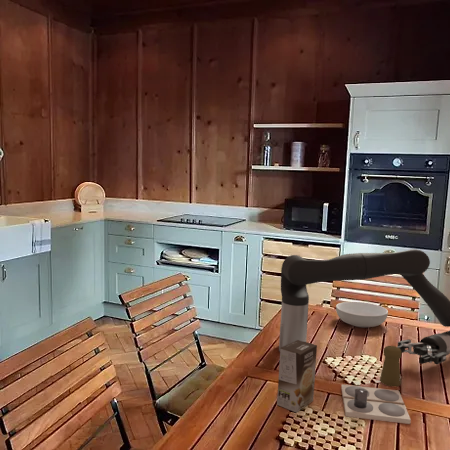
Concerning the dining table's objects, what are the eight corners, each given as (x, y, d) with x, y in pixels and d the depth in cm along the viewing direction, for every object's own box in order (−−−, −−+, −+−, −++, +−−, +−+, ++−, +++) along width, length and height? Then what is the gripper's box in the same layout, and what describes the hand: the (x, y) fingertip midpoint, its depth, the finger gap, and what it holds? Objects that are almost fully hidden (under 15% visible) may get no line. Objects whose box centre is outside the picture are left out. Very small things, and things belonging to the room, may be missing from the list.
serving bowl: (392, 322, 200) (393, 306, 200) (379, 336, 183) (380, 319, 182) (344, 313, 211) (345, 298, 210) (327, 325, 194) (328, 309, 193)
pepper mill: (402, 387, 140) (405, 352, 139) (380, 385, 141) (383, 349, 140) (399, 378, 146) (401, 344, 145) (378, 376, 147) (381, 342, 146)
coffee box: (296, 413, 123) (300, 354, 121) (276, 405, 127) (279, 347, 125) (314, 400, 130) (317, 344, 128) (294, 393, 134) (297, 338, 132)
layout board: (345, 416, 123) (345, 411, 123) (341, 388, 138) (341, 383, 138) (410, 424, 120) (410, 418, 120) (398, 394, 136) (398, 389, 136)
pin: (354, 407, 125) (355, 393, 124) (353, 401, 128) (354, 387, 127) (367, 409, 124) (368, 394, 123) (365, 403, 127) (366, 389, 127)
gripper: (418, 328, 162) (389, 336, 153) (459, 342, 151) (430, 352, 142) (416, 349, 163) (387, 359, 154) (456, 364, 152) (427, 375, 142)
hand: (407, 355), depth 148 cm, fingers open, 8 cm apart
